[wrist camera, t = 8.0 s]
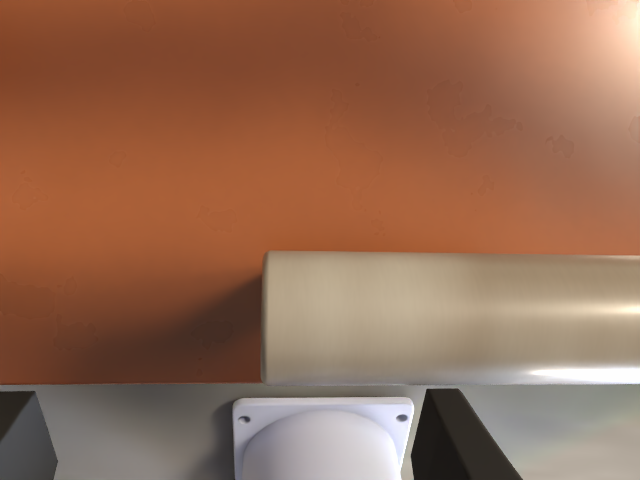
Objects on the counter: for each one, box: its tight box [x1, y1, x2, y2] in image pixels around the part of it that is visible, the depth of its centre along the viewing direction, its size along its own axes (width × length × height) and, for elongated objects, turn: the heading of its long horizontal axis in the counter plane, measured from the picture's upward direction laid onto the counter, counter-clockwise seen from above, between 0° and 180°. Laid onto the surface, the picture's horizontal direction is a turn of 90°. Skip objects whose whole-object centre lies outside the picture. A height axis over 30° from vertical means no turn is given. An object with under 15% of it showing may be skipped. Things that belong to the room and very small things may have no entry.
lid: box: [0, 0, 640, 386], centre depth 8 cm, size 10×16×5 cm
